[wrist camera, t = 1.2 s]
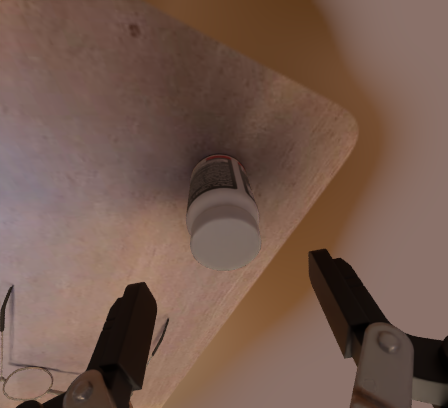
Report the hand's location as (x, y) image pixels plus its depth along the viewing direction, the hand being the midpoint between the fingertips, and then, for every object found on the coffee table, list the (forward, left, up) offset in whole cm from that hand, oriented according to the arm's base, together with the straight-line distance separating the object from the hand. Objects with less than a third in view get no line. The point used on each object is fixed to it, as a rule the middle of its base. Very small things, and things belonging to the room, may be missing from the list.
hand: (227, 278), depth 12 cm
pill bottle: (0, 0, -11) cm, 11 cm away
